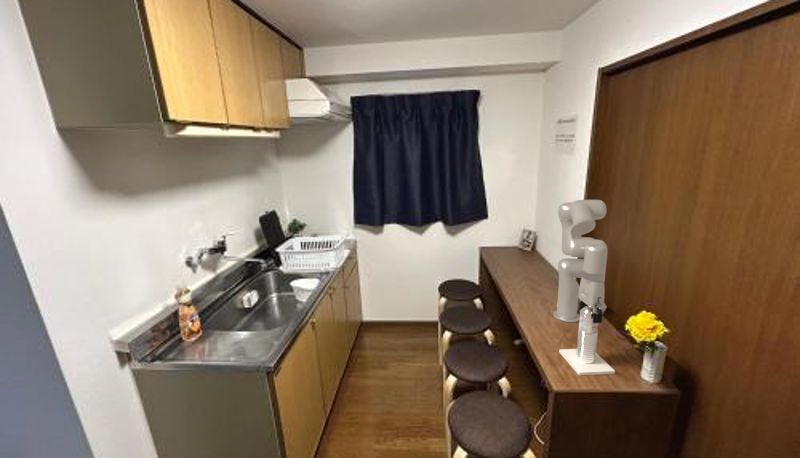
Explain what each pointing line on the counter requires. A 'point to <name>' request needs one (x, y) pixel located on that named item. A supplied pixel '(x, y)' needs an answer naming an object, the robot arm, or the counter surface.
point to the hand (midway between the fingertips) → (589, 316)
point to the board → (586, 364)
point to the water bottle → (587, 336)
